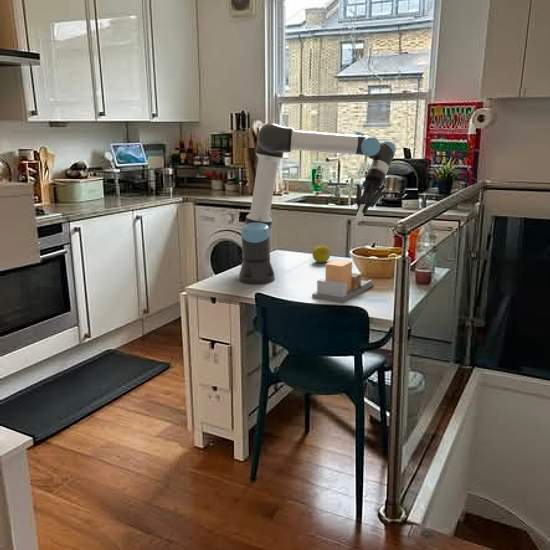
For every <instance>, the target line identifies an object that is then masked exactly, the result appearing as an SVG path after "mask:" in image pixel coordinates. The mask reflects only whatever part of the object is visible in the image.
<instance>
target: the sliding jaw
mask: <svg viewBox="0 0 550 550" xmlns="http://www.w3.org/2000/svg"><path fill="white" fill-rule="evenodd" d="M361 280H362V274H361V273H357V272H352V289H357V288H359V287H360V285H361Z"/></svg>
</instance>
